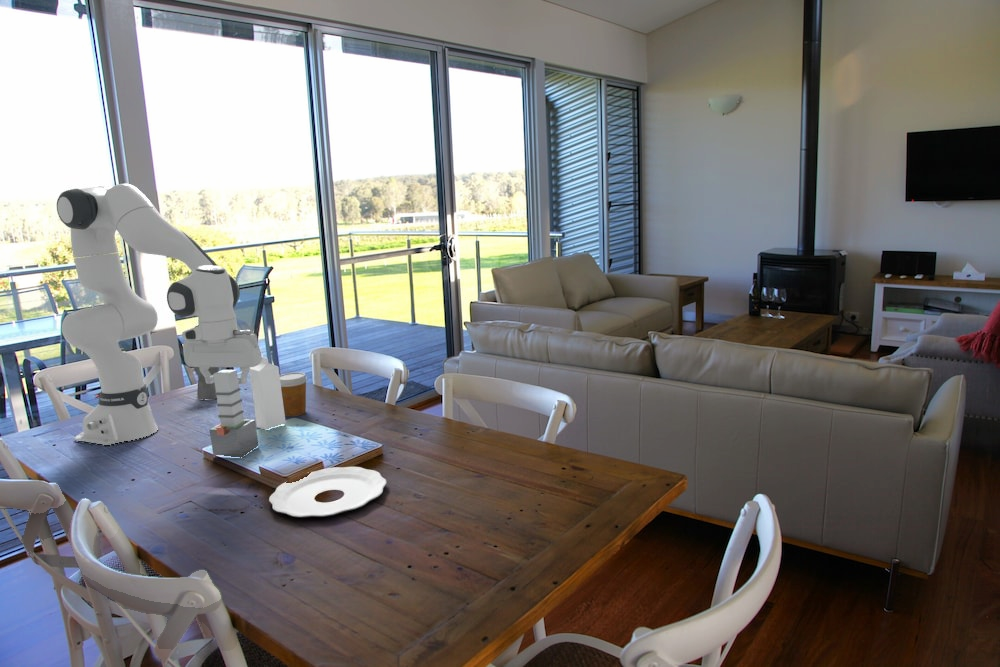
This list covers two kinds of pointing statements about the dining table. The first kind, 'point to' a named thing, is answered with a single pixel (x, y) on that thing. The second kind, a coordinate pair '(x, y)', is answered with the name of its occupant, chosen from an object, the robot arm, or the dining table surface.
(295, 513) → the plate
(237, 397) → the column
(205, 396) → the coffeepot
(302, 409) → the disposable coffee cup
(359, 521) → the dining table surface
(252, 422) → the stand
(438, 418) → the dining table surface
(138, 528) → the dining table surface
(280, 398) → the milk
